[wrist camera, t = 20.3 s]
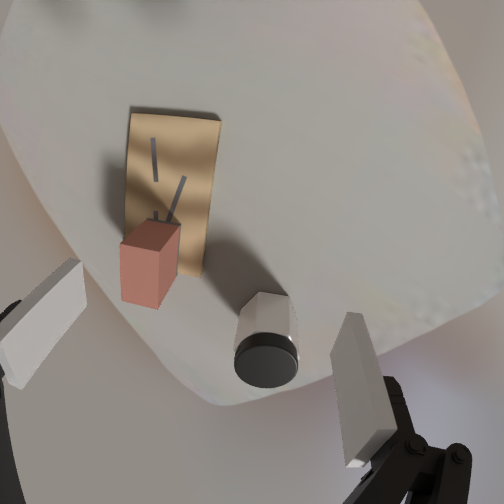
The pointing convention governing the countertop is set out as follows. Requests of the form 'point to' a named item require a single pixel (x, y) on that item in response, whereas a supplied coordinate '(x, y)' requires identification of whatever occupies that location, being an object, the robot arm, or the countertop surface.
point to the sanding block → (149, 262)
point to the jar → (267, 341)
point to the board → (172, 179)
